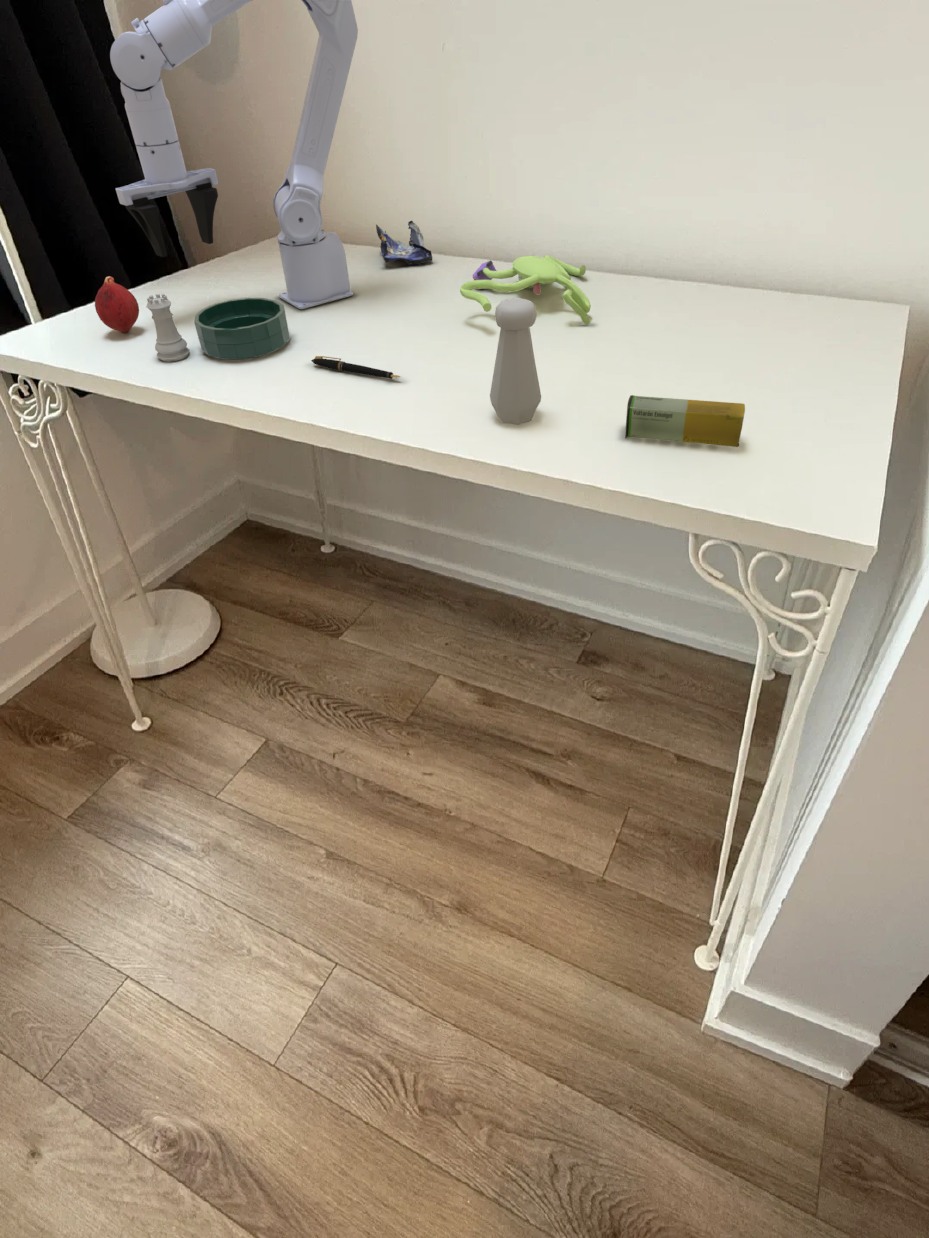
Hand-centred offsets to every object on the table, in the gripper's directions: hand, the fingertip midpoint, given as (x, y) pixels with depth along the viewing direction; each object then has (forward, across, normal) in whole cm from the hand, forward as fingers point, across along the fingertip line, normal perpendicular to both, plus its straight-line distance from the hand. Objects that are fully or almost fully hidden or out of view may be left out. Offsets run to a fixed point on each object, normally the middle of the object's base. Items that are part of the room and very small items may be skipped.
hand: (185, 249), depth 115 cm
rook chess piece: (+10, -12, -12) cm, 19 cm away
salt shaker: (+10, +5, -61) cm, 62 cm away
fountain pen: (+10, +1, -37) cm, 38 cm away
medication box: (+10, +12, -78) cm, 80 cm away
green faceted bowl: (+9, -3, -17) cm, 19 cm away
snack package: (+10, +38, -5) cm, 39 cm away
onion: (+10, -12, +2) cm, 15 cm away
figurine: (+10, +34, -37) cm, 51 cm away
